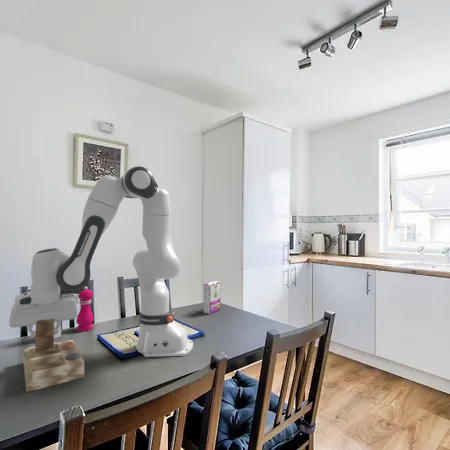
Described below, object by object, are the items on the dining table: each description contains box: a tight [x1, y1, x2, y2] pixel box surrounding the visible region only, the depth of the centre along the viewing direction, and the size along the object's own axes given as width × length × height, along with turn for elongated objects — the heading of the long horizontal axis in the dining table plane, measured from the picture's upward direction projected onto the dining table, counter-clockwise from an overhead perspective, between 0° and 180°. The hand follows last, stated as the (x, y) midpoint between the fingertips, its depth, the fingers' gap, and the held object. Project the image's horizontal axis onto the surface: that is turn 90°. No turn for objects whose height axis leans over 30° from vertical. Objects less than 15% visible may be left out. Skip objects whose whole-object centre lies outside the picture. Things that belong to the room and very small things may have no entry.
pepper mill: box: [76, 285, 95, 332], centre depth 139 cm, size 7×7×20 cm
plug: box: [34, 319, 55, 351], centre depth 104 cm, size 5×5×11 cm
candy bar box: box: [202, 280, 221, 315], centre depth 171 cm, size 11×5×16 cm, turn 149°
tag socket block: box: [22, 339, 85, 393], centre depth 100 cm, size 16×22×5 cm
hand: (44, 335), depth 104 cm, fingers closed on plug, 5 cm apart
